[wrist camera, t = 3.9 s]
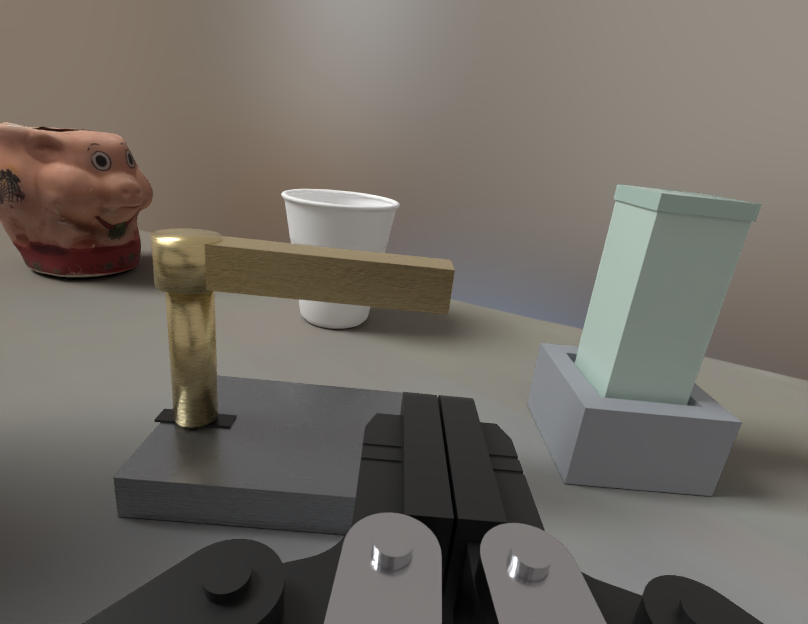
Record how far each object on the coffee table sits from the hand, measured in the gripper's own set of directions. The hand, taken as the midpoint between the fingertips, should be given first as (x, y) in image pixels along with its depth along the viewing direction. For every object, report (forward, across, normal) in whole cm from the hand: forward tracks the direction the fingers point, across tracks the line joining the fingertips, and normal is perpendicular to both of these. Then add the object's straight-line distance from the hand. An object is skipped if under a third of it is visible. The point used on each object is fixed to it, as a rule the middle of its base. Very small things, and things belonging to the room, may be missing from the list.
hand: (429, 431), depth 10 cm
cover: (+16, -13, +6) cm, 21 cm away
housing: (+16, -13, +10) cm, 23 cm away
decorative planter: (+40, +35, +10) cm, 54 cm away
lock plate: (+11, +5, +10) cm, 16 cm away
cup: (+32, +6, +10) cm, 34 cm away
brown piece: (+11, +5, +8) cm, 15 cm away
